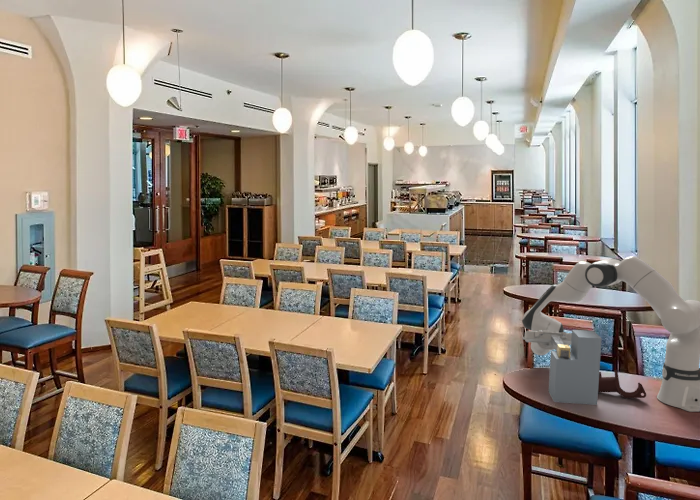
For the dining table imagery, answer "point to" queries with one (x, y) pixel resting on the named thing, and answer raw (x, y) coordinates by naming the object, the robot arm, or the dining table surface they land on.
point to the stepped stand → (577, 370)
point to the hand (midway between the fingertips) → (552, 333)
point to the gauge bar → (560, 347)
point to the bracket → (618, 387)
